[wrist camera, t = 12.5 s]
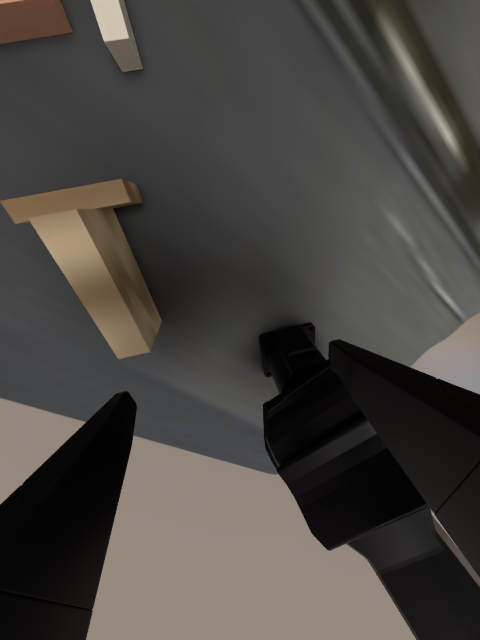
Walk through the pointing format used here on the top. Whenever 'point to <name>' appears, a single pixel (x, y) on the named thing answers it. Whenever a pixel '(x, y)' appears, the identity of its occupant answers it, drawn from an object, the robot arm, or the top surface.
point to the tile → (31, 19)
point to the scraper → (96, 258)
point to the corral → (117, 33)
